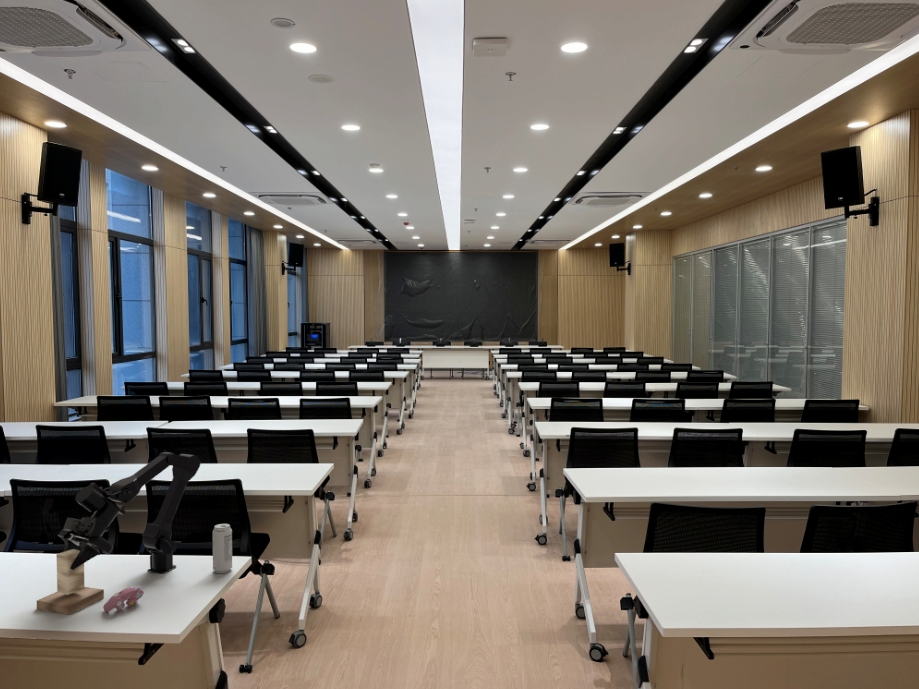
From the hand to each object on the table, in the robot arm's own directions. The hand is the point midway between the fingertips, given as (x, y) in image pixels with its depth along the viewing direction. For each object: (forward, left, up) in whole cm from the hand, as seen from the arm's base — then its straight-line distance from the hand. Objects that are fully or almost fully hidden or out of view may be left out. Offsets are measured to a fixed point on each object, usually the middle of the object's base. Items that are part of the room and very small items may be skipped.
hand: (65, 567), depth 193 cm
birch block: (0, -1, -7) cm, 7 cm away
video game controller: (-17, -3, -11) cm, 21 cm away
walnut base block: (0, -1, -11) cm, 11 cm away
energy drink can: (-26, -36, -11) cm, 46 cm away
